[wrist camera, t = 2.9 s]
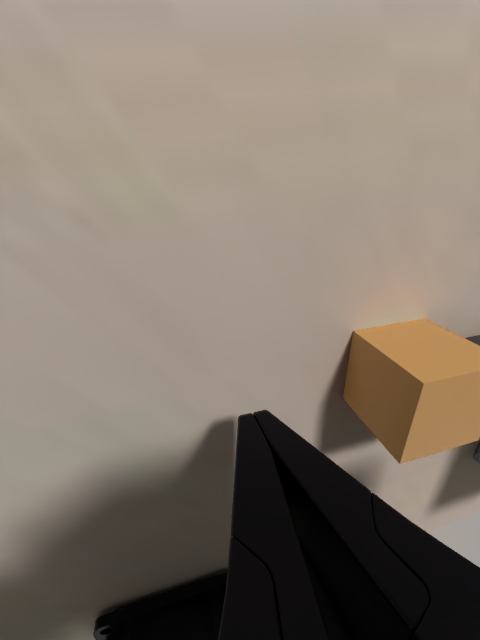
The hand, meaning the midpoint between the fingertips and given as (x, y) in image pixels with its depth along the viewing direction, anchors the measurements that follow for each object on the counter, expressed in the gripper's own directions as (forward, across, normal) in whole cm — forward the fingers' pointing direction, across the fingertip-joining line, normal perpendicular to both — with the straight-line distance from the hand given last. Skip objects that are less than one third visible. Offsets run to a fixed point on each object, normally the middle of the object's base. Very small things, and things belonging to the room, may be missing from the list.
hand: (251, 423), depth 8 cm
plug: (+2, -11, 0) cm, 11 cm away
